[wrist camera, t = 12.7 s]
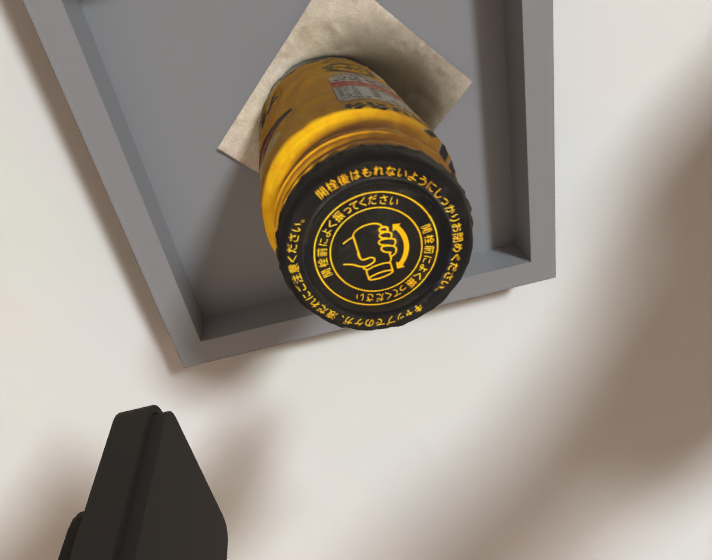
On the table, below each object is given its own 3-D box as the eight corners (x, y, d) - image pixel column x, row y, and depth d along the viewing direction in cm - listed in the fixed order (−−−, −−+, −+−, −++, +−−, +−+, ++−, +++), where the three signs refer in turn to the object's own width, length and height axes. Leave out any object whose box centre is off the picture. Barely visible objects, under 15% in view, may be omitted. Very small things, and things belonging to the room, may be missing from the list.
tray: (15, -78, 20) (-13, -80, 18) (520, -185, 21) (550, -200, 19) (188, 337, 30) (183, 367, 28) (534, 253, 30) (555, 277, 28)
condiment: (217, 146, 25) (191, 288, 15) (332, -35, 22) (400, -19, 12) (353, 231, 28) (411, 399, 17) (470, 80, 25) (620, 173, 15)
